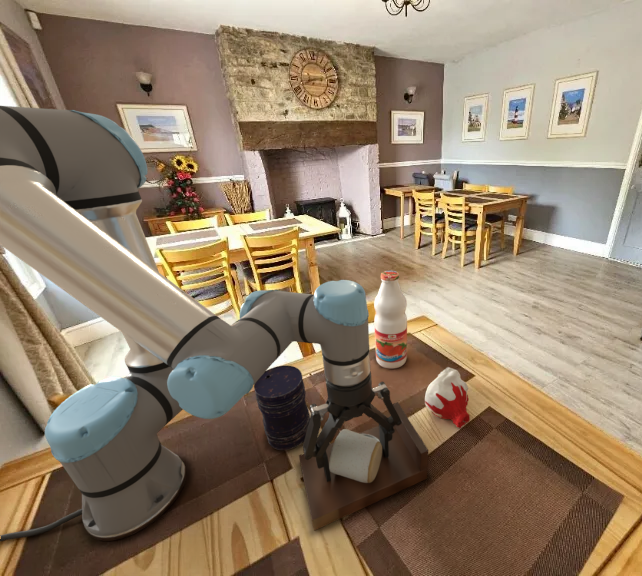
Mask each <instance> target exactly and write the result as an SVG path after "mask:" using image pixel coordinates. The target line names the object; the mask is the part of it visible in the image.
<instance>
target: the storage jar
mask: <svg viewBox="0 0 642 576" xmlns="http://www.w3.org/2000/svg"><path fill="white" fill-rule="evenodd" d="M253 390H254V392H255V400H256V403H257V407H258V409H259V411H260V413H261V415H262V424H263V429H264V434H265V435H266V438H267V439H266V440H267V442H268V444H269V446H270V447H272V448H273V449H275V450H277V451H278V450H279V451H288V450H292V449H295V448H297V447H298V446H300V445H303V443H304V439H305V436H306V432H307V428H308V424H309V421H310V417H311V414H310V409H309V407H308V405H307V401H306V396H307V395H306V394H307V393H306V392H307V391H306V388H305V382H304V379H303V373H302V371H301V370H300V369H299V368H298V367H296V366H294V365H289V364H288V365H278V366H277V365H276V366H273V367H271V368H268V369H267V370H266V371H265V373H264V374H263V375H262V376H261V377H260V378H259V379H258V381H257V382H256V383H255V384H254V385H253Z"/></svg>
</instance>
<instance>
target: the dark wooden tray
mask: <svg viewBox="0 0 642 576" xmlns="http://www.w3.org/2000/svg"><path fill="white" fill-rule="evenodd" d="M392 404H393V406H394V408H395V410H396V412H397V414H398V415H399V417H400V419H401V421H402V423H401V424H400V425H398V426H397V425H395V426H394V427H393V428H394V430H395V432H394V433H393V434H392V440H390V441H388V446H389V457H387V458H385V456H384V454H383V452H382V457H381V461H380V465H379V469H378V472H377V475H376V477H375V479H374V480H373V481H372V482H371V483H364V482H360V481H357V480H354V479H350V478H347V477H344V476H341V475H337V474H334V473H331V472H330V476H331V481H328V482H327V479H326V476H325V472H324V467H323V468H320V469H319V468H318V467H317V463H316V458H315V457H312V458H311V459H309V460H306V459H305V456H304V453H302V454H299V455H298V457H299V462H300V463H299V464H300V467H301V468H300V469H301V473H302V478H303V483H304V488H305V493H306V498H307V503H308V508H309V513H310V517H311V518H310V519H311V524H312V528H313V531H316V530H319V529H321V528H323V527H326V526H327V525H329V524H332V523H334V522H336V521H339V520H341V519H343V518H345V517H347V516H350V515H351V514H353V513H356V512H358V511H360V510H362V509H365V508H366V507H369V506H371V505H373V504H375V503H378V502H380V501H382V500H384V499H386V498H388V497H390V496H393V495H394V494H398V493H399V492H401V491H403V490H406V489H408V488H410V487H412V486H414V485H416V484H419V483H421V482H423V481H425V480H427V479H428V467H429V449H428V447H427V446H426V443H424V441H423V440H422V438H421V436H420V435H419V433H418V432H417V430H416V428H415V427H414V425H413V423H412V422H411V421H410V419H409V417H408V415H407V414H406V413H405V411H404V409H403V408H402V406H401V404H400V403H399V402H394V403H392ZM358 433H359V434H369V435H372V436H374V437H376V438H377V439H378V440H379V441H380V435H379V425H377V426H375V427H372V428H370V429H366V430H364V431H361V432H358ZM333 444H334V442H330V444H329V446H328V447H327V449H326V453H327V456H328V463H329V460H330V455H331V450H332V447H333Z"/></svg>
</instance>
